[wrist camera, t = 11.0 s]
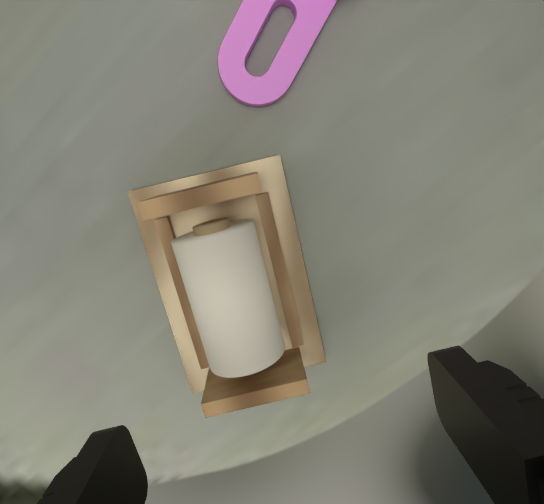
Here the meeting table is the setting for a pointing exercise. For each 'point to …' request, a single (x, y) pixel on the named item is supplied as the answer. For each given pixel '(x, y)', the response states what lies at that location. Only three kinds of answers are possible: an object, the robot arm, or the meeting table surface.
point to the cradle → (278, 262)
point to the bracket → (274, 84)
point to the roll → (230, 296)
